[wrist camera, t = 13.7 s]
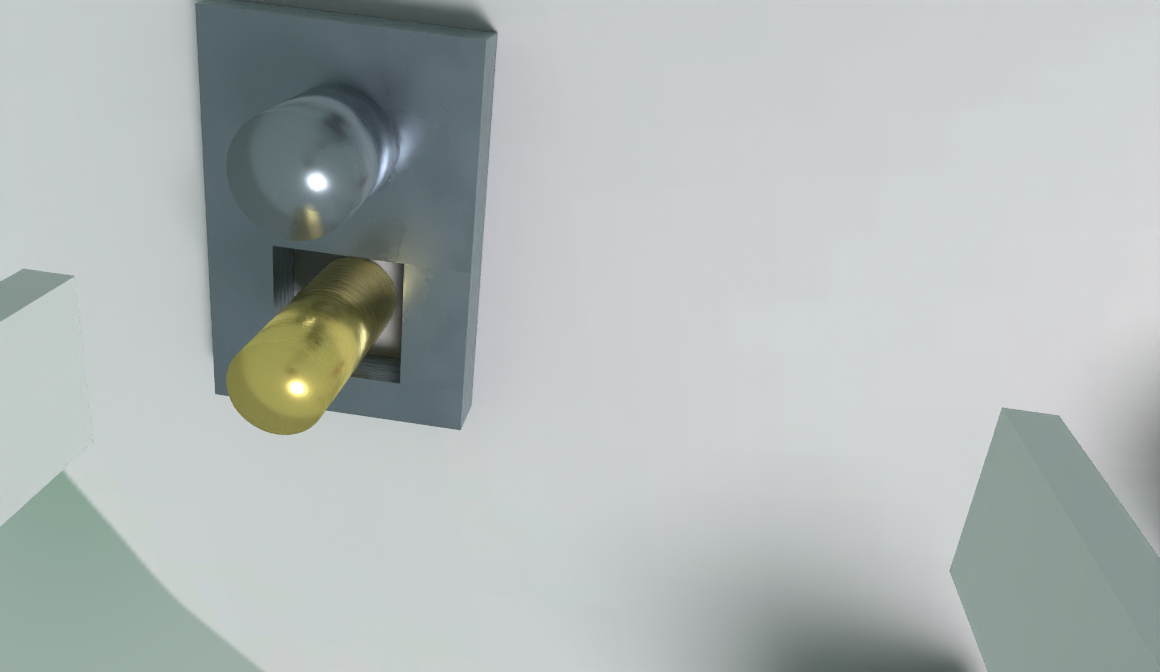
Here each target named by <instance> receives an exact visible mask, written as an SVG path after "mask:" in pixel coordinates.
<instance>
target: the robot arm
mask: <svg viewBox="0 0 1160 672" xmlns="http://www.w3.org/2000/svg"><path fill="white" fill-rule="evenodd" d="M92 443H93V434H92V425H91V416H90V407H89V398H88V389H87V380H86V371H85V362H84V353H83V343H82V334H81V325H80V316H79V307H78V298H77V289H76V280H75V276H71V275H64V274H57V273H50V272H43V271H36V270H29V269H22V270H21V271H19V272H17V273H15V274H13V275H12V276H10V277H8V278H6V279H4V280H3V281H1V282H0V526H1V525H2V524H4V523H5V522H6V521H7V520H8V519H9V518H10V517H11V516H12V515H14V514H15V513H16V512H17V511H18V510H19V509H20V508H21V507H22V506H23V505H25V504H26V503H27V502H28V501H29V500H30V499H31V498H32V497H33V496H34V495H36V493H38V492H39V491H40V490H41V489H42V488H43V487H44V486H46V485H47V484H48V483H49V482H50V481H51V480H52V479H53V478H54V477H55V476H56V475H58V474H59V473H60V472H61V471H62V470H63V469H64V468H65V467H66V466H68V465H69V464H70V463H71V462H72V461H73V460H74V459H75V458H76V457H77V456H79V455H80V454H81V453H82V452H83V451H84V450H85V449H86V448H87V447H88V446H90V445H91V444H92ZM950 573H951V576H952V579H953V581H954V584H955V586H956V589H957V592H958V594H959V597H960V600H961V602H962V605H963V607H964V610H965V613H966V615H967V618H968V621H969V623H970V626H971V629H972V631H973V634H974V636H975V639H976V642H977V644H978V647H979V650H980V652H981V655H982V657H983V660H984V663H985V665H986V668H987V671H988V672H1160V558H1159V557H1158V555H1157V554H1156V552H1155V551H1154V550H1153V548H1152V547H1151V545H1150V544H1149V543H1148V541H1147V540H1146V538H1145V537H1144V535H1143V534H1142V533H1141V531H1140V530H1139V528H1138V527H1137V525H1136V524H1135V523H1134V521H1133V520H1132V518H1131V517H1130V516H1129V514H1128V513H1127V511H1126V510H1125V508H1124V507H1123V506H1122V504H1121V503H1120V501H1119V500H1118V499H1117V497H1116V496H1115V494H1114V493H1113V491H1112V490H1111V489H1110V487H1109V486H1108V484H1107V483H1106V481H1105V480H1104V479H1103V477H1102V476H1101V474H1100V473H1099V472H1098V470H1097V469H1096V467H1095V466H1094V464H1093V463H1092V462H1091V460H1090V459H1089V457H1088V456H1087V455H1086V453H1085V452H1084V450H1083V449H1082V447H1081V446H1080V445H1079V443H1078V442H1077V440H1076V439H1075V438H1074V436H1073V435H1072V433H1071V432H1070V430H1069V429H1068V428H1067V426H1066V425H1065V423H1064V422H1063V420H1062V419H1061V418H1060V416H1058V415H1051V414H1044V413H1037V412H1030V411H1023V410H1016V409H1009V408H1002V410H1001V413H1000V416H999V419H998V422H997V425H996V428H995V431H994V435H993V438H992V441H991V444H990V447H989V450H988V453H987V456H986V459H985V462H984V466H983V469H982V472H981V475H980V478H979V481H978V484H977V487H976V490H975V494H974V497H973V500H972V503H971V506H970V509H969V512H968V515H967V518H966V522H965V525H964V528H963V531H962V534H961V537H960V540H959V543H958V546H957V550H956V553H955V556H954V559H953V562H952V565H951V568H950Z"/></svg>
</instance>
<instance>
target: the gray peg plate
mask: <svg viewBox="0 0 1160 672" xmlns="http://www.w3.org/2000/svg"><path fill="white" fill-rule="evenodd" d="M195 5H196V24H197V44H198V64H199V83H200V103H201V123H202V142H203V162H204V182H205V201H206V221H207V241H208V260H209V280H210V300H211V319H212V339H213V359H214V378H215V394H219V395H225V396H229V394H228V390H227V384H226V376H227V371H228V368H229V365H230V363H231V361H232V360H233V358H234V357H235V356H236V355H237V354H238V353H239V352H240V351H241V350H242V349H243V348H244V347H245V346H246V345H247V344H248V343H249V342H250V341H251V340H252V339H253V338H254V337H255V336H256V335H257V334H258V333H259V332H260V331H261V330H262V329H263V328H264V327H265V326H266V325H267V324H268V323H269V322H270V321H271V320H272V319H273V318H274V317H275V316H276V315H277V314H278V313H279V312H280V311H281V310H282V309H283V308H284V307H285V306H286V305H287V304H288V303H289V302H290V301H291V300H292V299H293V298H294V263H293V249H300V250H307V251H315V252H322V253H329V254H336V255H343V256H351V257H358V258H365V259H372V260H379V261H387V262H394V263H401V264H404V285H403V313H402V341H401V359H396V358H389V357H382V356H375V355H368V354H366V355H365V357H364V358H363V360H362V361H361V362H360V364H359V365H358V366H357V368H356V369H355V371H354V372H353V373H352V375H351V376H350V377H349V379H348V380H347V382H346V383H345V384H344V386H343V387H342V389H341V390H340V391H339V393H338V394H337V395H336V397H335V398H334V400H333V401H332V402H331V404H330V405H329V406H328V408H327V409H326V410H327V411H334V412H341V413H348V414H355V415H361V416H368V417H375V418H382V419H389V420H395V421H402V422H409V423H416V424H423V425H429V426H436V427H443V428H450V429H457V430H461V428H462V426H463V423H464V421H465V419H466V416H467V414H468V412H469V410H470V407H471V402H472V388H473V373H474V359H475V345H476V331H477V316H478V302H479V288H480V273H481V259H482V245H483V231H484V216H485V202H486V188H487V174H488V159H489V145H490V131H491V116H492V102H493V88H494V74H495V59H496V45H497V33H496V32H488V31H480V30H472V29H464V28H456V27H448V26H440V25H432V24H424V23H416V22H408V21H401V20H393V19H385V18H377V17H369V16H361V15H353V14H345V13H337V12H329V11H321V10H313V9H305V8H297V7H289V6H281V5H274V4H266V3H258V2H250V1H242V0H210V1H206V2H201V3H196V4H195Z"/></svg>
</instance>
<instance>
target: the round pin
mask: <svg viewBox="0 0 1160 672" xmlns="http://www.w3.org/2000/svg"><path fill="white" fill-rule="evenodd" d="M396 307H397V295H396V290H395V287H394V285H393V282H392V281H391V279H390V277H389V276H388V275H387V274H386V272H385V271H384V270H383V269H382V268H380V267H379V266H378V265H376V264H375V263H373V262H371V261H369V260H366V259H363V258H358V257H343V258H339V259H336V260H334V261H332V262H331V263H329V264H328V265H327V266H326V267H324V268H323V269H322V270H321V271H320V272H319V273H318V274H317V275H316V276H315V277H314V278H313V279H312V280H311V281H310V282H309V283H308V284H307V285H306V286H305V287H304V288H303V289H302V290H301V291H300V292H299V293H298V294H297V295H296V296H295V297H294V298H293V299H292V300H291V301H290V302H289V303H288V304H287V305H286V306H285V307H284V308H283V309H282V310H281V311H280V312H279V313H278V314H277V315H276V316H275V317H274V318H273V319H272V320H271V321H270V322H269V323H268V324H267V325H266V326H265V327H264V328H263V329H262V330H261V331H260V332H259V333H258V334H257V335H256V336H255V337H254V338H253V339H252V340H251V341H250V342H249V343H248V344H247V345H246V346H245V347H244V348H243V349H242V350H241V351H240V352H239V353H238V354H237V355H236V356H235V357H234V358H233V360H232V361H231V363H230V365H229V368H228V371H227V376H226V384H227V390H228V394H229V397H230V399H231V401H232V403H233V405H234V407H235V408H236V410H237V411H238V412H239V413H240V414H241V416H242V417H244V418H245V419H246V420H247V421H248V422H249V423H251V424H252V425H254V426H256V427H257V428H259V429H261V430H264V431H266V432H269V433H274V434H280V435H291V434H297V433H300V432H303V431H305V430H307V429H309V428H310V427H312V426H313V425H314V424H315V423H316V422H317V421H318V420H319V419H320V418H321V416H322V415H323V413H324V412H325V411H326V409H327V408H328V406H329V405H330V404H331V402H332V401H333V400H334V398H335V397H336V395H337V394H338V393H339V391H340V390H341V389H342V387H343V386H344V384H345V383H346V382H347V380H348V379H349V377H350V376H351V375H352V373H353V372H354V371H355V369H356V368H357V366H358V365H359V364H360V362H361V361H362V360H363V358H364V357H365V355H366V354H367V353H368V351H369V350H370V348H371V347H372V346H373V344H374V343H375V342H376V340H377V339H378V337H379V336H380V335H381V333H382V332H383V330H384V329H385V328H386V326H387V325H388V324H389V322H390V321H391V319H392V318H393V316H394V314H395V311H396Z"/></svg>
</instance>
